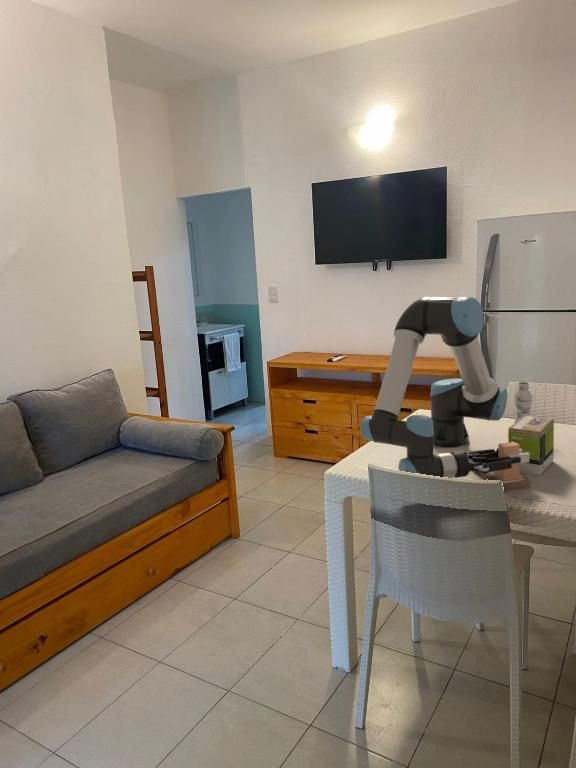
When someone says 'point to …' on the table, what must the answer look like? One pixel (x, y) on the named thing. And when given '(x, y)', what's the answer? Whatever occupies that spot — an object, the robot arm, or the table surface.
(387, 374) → the robot arm
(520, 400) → the plastic bottle
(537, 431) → the tea box
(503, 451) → the tan upright block
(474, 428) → the table surface
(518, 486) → the board
